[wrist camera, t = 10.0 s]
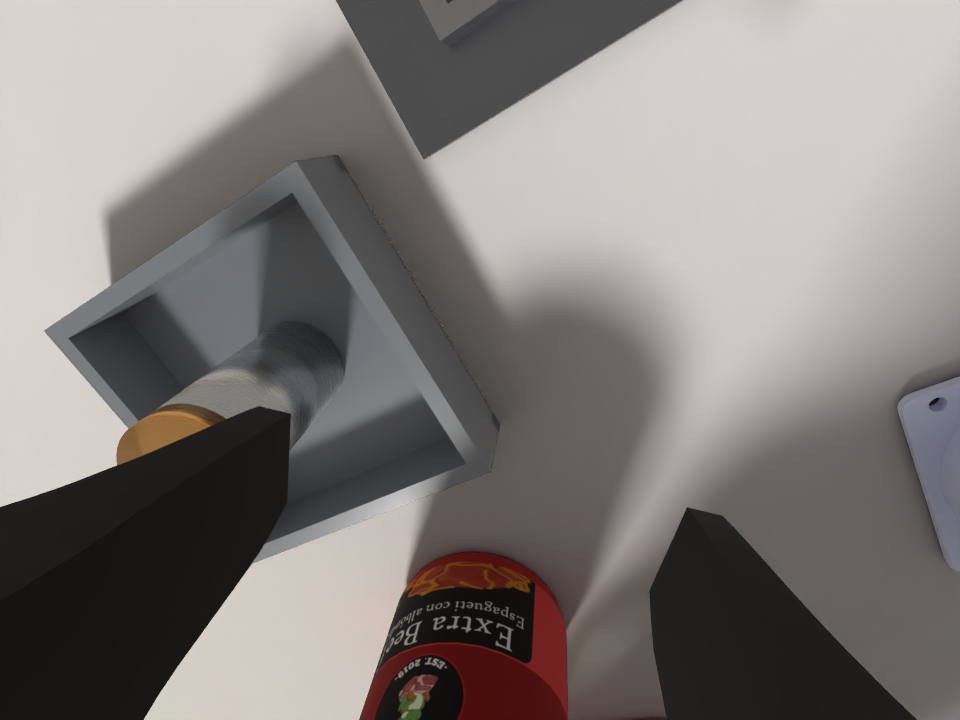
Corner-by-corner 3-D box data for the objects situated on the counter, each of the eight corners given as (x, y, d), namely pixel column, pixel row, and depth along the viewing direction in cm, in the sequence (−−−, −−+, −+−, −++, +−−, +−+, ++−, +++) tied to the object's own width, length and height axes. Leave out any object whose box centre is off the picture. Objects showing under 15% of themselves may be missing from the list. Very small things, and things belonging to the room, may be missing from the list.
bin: (337, 154, 17) (295, 160, 14) (499, 424, 20) (490, 471, 18) (111, 302, 20) (44, 330, 18) (282, 514, 24) (246, 565, 21)
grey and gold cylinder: (360, 357, 19) (265, 470, 13) (319, 420, 21) (214, 551, 14) (279, 303, 19) (140, 393, 13) (242, 371, 20) (100, 484, 14)
